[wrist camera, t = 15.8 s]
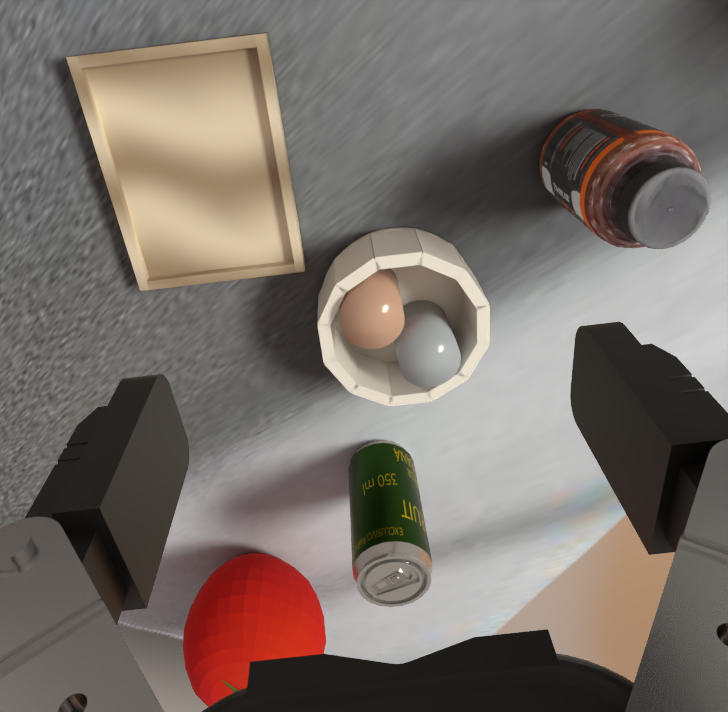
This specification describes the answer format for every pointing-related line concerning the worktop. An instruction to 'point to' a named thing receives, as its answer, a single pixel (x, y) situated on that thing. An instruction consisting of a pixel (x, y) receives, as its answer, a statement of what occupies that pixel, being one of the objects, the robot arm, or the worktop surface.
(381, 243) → the bowl
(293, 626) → the red round fruit
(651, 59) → the worktop surface
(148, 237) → the parts tray
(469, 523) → the worktop surface
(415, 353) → the gray metal cylinder
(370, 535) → the beer can
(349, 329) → the beige cylinder
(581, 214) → the supplement bottle
